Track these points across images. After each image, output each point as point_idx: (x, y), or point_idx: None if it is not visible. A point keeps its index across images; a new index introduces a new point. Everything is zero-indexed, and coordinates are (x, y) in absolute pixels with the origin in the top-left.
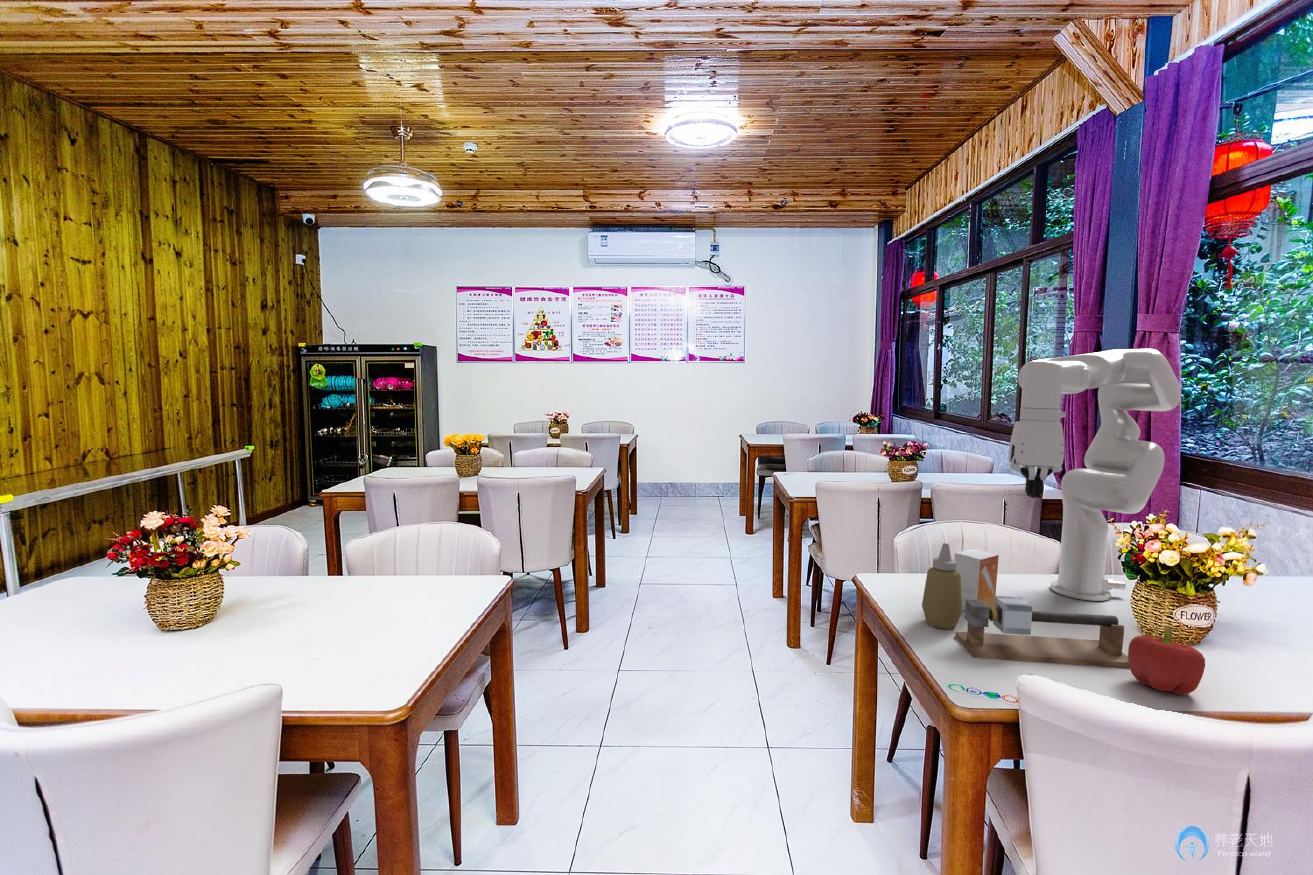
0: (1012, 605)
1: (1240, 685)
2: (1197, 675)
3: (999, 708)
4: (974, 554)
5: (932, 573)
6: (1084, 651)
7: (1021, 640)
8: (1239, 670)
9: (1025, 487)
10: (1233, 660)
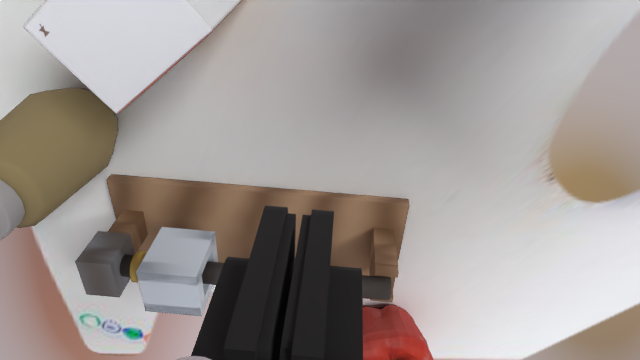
0: (160, 311)
1: (515, 312)
2: None
3: (135, 354)
4: (102, 47)
5: None
6: None
7: (229, 212)
8: (576, 275)
9: (217, 282)
10: (615, 244)
